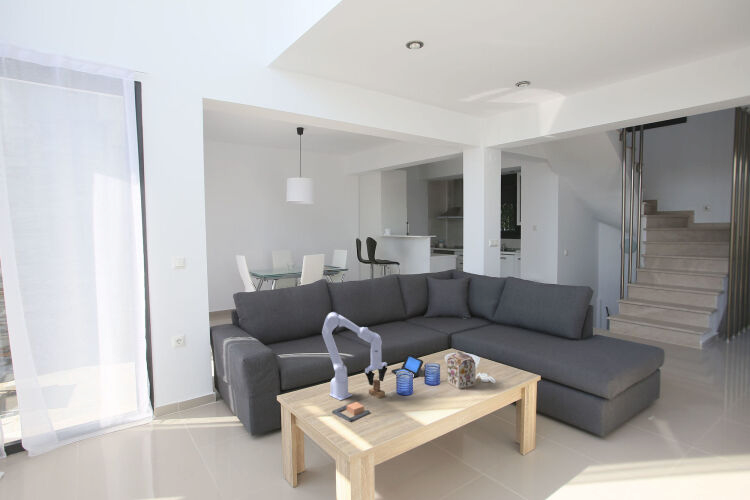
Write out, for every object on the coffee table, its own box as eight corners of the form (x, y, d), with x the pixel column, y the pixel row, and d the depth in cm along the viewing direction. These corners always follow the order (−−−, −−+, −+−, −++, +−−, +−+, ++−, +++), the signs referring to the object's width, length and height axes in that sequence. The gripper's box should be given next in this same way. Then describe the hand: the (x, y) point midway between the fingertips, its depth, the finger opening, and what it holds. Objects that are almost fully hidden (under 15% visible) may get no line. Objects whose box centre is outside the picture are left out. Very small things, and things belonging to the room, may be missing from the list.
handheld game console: (390, 372, 252) (390, 357, 251) (407, 368, 259) (407, 353, 258) (406, 380, 239) (405, 365, 238) (424, 375, 246) (424, 360, 245)
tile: (346, 411, 201) (346, 405, 200) (356, 407, 204) (356, 401, 204) (354, 415, 196) (354, 409, 196) (364, 412, 200) (363, 406, 200)
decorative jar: (446, 382, 235) (446, 351, 234) (462, 378, 240) (463, 348, 239) (458, 389, 224) (458, 357, 223) (476, 386, 229) (476, 354, 228)
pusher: (368, 394, 220) (368, 379, 220) (374, 391, 223) (374, 377, 223) (379, 398, 215) (379, 383, 214) (384, 396, 217) (384, 381, 217)
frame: (332, 412, 199) (332, 410, 198) (351, 404, 207) (351, 402, 207) (350, 421, 189) (350, 419, 189) (369, 412, 198) (369, 410, 198)
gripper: (371, 362, 210) (371, 388, 211) (391, 356, 220) (391, 381, 221) (362, 359, 215) (362, 385, 216) (381, 353, 225) (381, 377, 226)
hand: (376, 382), depth 219 cm, fingers open, 7 cm apart
